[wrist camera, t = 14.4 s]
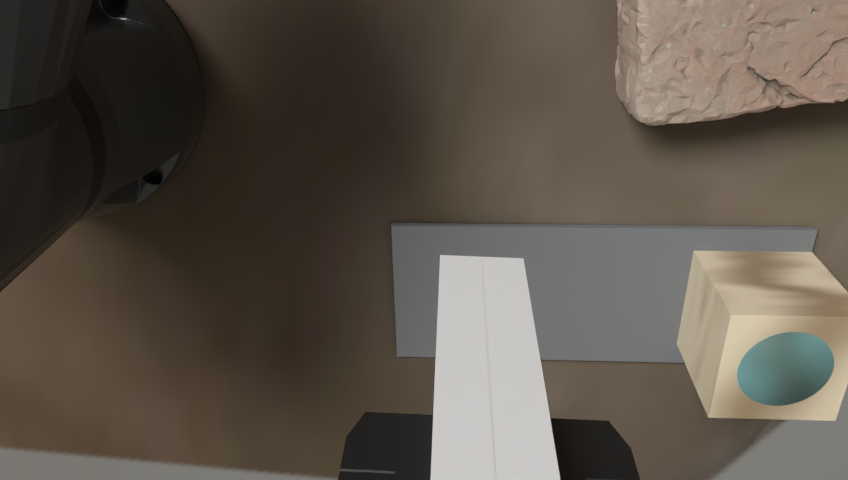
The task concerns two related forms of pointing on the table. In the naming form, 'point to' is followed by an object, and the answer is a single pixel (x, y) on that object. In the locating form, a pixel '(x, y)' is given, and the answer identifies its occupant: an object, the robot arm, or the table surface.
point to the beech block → (765, 335)
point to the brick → (728, 57)
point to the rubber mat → (576, 280)
